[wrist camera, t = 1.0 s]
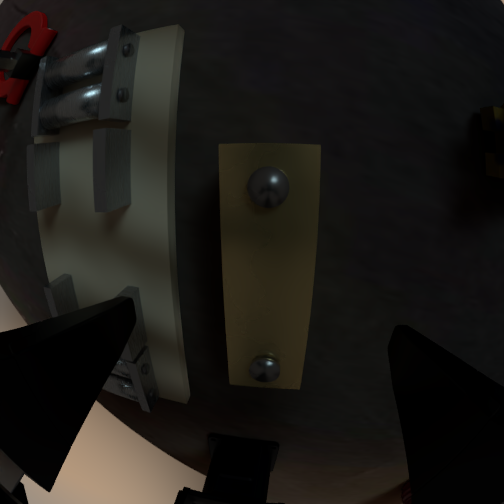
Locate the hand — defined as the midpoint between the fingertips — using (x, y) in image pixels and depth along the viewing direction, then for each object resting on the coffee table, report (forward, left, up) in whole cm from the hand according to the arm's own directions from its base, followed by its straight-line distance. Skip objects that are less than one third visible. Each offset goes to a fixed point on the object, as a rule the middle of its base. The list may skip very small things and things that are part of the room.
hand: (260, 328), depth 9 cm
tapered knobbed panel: (0, 0, -7) cm, 7 cm away
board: (0, +11, -7) cm, 13 cm away
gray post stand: (+16, +22, -7) cm, 28 cm away
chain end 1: (+7, +11, -6) cm, 14 cm away
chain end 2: (-7, +11, -6) cm, 14 cm away
